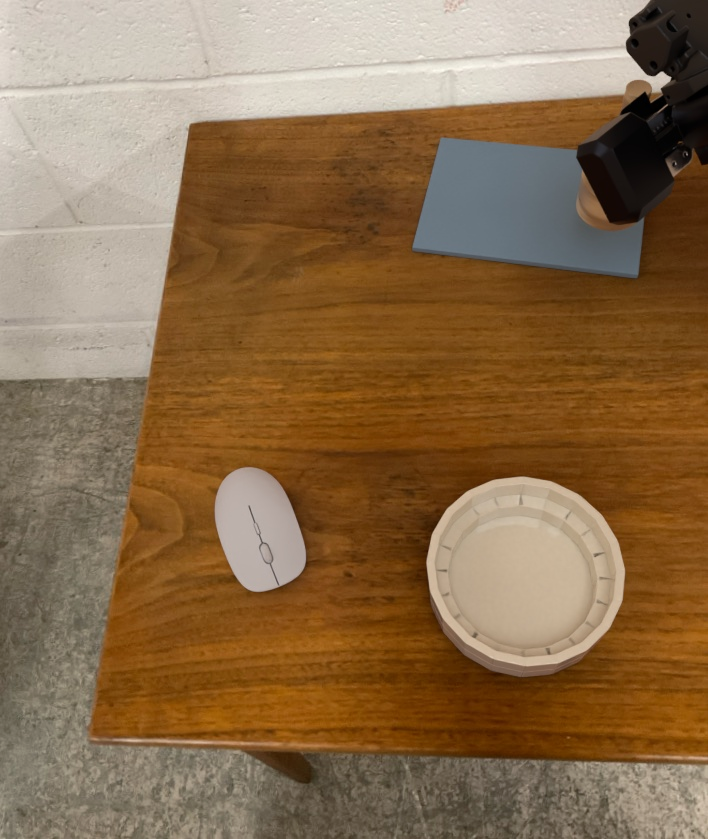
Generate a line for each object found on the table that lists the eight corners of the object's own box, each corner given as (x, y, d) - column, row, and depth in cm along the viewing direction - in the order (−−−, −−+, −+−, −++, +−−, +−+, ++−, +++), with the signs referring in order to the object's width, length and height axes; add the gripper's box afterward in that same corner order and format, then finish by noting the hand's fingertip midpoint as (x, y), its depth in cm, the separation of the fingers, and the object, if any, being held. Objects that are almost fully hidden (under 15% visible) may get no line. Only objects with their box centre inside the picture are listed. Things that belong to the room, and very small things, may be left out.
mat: (649, 161, 76) (650, 156, 75) (637, 279, 70) (638, 274, 69) (440, 141, 80) (440, 137, 79) (412, 251, 74) (412, 247, 73)
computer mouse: (244, 604, 60) (235, 594, 57) (208, 492, 65) (198, 477, 62) (318, 574, 61) (312, 562, 58) (277, 465, 65) (270, 449, 63)
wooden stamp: (657, 216, 67) (696, 99, 56) (596, 240, 66) (624, 126, 56) (622, 172, 69) (653, 51, 59) (564, 194, 69) (584, 77, 58)
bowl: (620, 517, 60) (632, 495, 56) (602, 697, 55) (614, 686, 51) (446, 486, 63) (446, 462, 59) (412, 654, 57) (409, 640, 53)
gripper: (835, -121, 48) (645, -20, 62) (627, 39, 43) (475, 108, 58) (894, 52, 51) (703, 109, 66) (709, 215, 47) (547, 239, 61)
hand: (611, 137), depth 62 cm, fingers closed on wooden stamp
